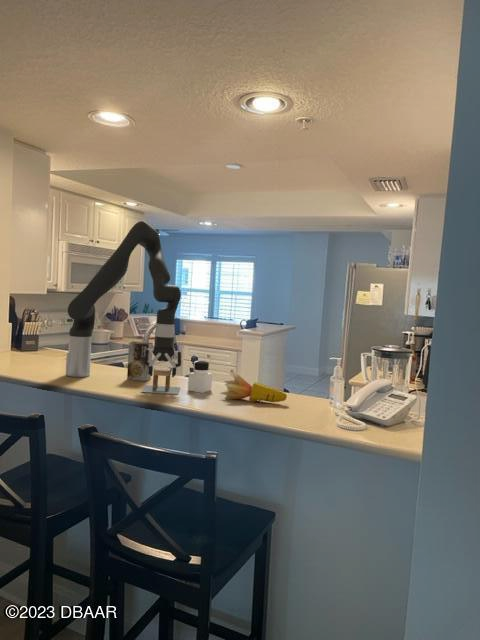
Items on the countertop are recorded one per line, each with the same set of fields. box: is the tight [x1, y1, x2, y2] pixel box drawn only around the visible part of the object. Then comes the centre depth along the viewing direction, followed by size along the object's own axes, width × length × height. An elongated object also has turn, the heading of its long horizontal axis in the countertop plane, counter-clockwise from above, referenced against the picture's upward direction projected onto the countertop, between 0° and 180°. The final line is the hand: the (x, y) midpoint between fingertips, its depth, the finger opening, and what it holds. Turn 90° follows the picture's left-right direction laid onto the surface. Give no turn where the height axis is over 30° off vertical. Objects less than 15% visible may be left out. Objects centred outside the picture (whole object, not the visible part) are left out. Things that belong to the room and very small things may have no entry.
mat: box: [140, 384, 181, 396], centre depth 179 cm, size 14×12×1 cm
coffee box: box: [126, 341, 154, 382], centre depth 198 cm, size 9×6×16 cm
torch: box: [219, 372, 288, 403], centre depth 172 cm, size 8×8×25 cm
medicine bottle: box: [187, 360, 213, 394], centre depth 183 cm, size 7×7×12 cm
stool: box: [152, 367, 172, 391], centre depth 179 cm, size 6×6×8 cm
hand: (162, 376), depth 179 cm, fingers open, 8 cm apart
